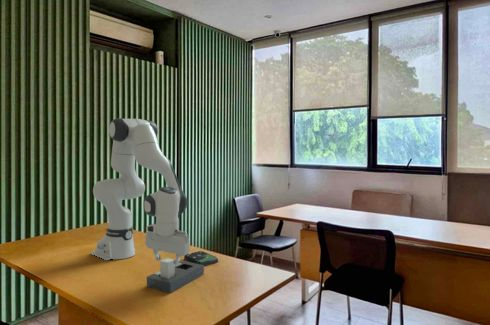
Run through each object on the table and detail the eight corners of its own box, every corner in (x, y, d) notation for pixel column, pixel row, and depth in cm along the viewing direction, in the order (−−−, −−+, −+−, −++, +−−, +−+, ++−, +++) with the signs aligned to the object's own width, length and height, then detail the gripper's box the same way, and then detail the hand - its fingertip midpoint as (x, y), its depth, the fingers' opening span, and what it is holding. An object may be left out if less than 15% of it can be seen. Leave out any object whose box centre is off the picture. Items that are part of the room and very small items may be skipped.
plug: (160, 285, 137) (160, 261, 137) (168, 281, 141) (168, 257, 141) (168, 287, 135) (168, 262, 135) (175, 283, 140) (175, 259, 139)
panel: (146, 286, 136) (146, 276, 136) (181, 269, 155) (181, 260, 155) (170, 293, 130) (170, 282, 130) (203, 274, 150) (203, 264, 150)
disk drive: (183, 260, 169) (201, 268, 158) (183, 254, 169) (201, 262, 158) (201, 255, 176) (218, 263, 165) (201, 250, 176) (218, 257, 165)
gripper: (193, 230, 135) (192, 264, 136) (154, 223, 144) (153, 255, 145) (183, 233, 129) (182, 269, 130) (143, 226, 139) (142, 259, 140)
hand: (167, 262), depth 138 cm, fingers open, 8 cm apart
